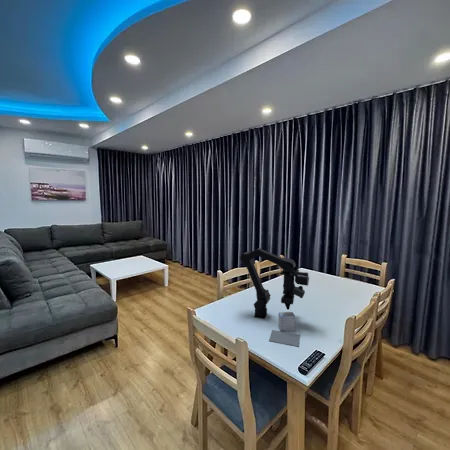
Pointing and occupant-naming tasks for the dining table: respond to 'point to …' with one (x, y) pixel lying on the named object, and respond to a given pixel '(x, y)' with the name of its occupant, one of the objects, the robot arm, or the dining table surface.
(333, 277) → the dining table surface
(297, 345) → the mat
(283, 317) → the medicine box
